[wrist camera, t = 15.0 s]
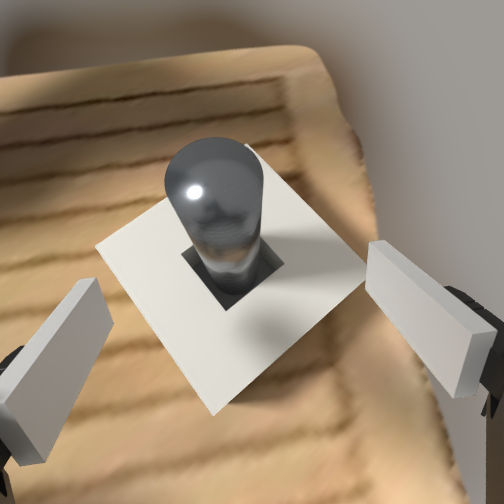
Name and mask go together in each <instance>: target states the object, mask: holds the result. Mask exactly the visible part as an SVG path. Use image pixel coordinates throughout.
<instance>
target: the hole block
mask: <svg viewBox="0 0 504 504" xmlns="http://www.w3.org/2000/svg"><path fill="white" fill-rule="evenodd" d="M245 146H246V147H248V148H249V149H250V150H251V151H252V152H253V153H254V154H255V155H256V156H257V158H258V160H259V161H260V164H261V166H262V169H263V175H264V184H263V200H262V215H261V231H260V247H259V263H258V276H257V280H256V283H255V285H254V286H253V287H252V288H251V289H250V290H249V291H248V292H246V293H244V294H242V295H236V296H235V295H228V294H225V293H223V292H222V291H220V290H219V289H218V288H217V286H216V285H215V283H214V281H213V280H212V278H211V276H210V274H209V272H208V270H207V269H206V267H205V265H204V263H203V261H202V259H201V258H200V256H199V254H198V252H197V250H196V248H195V247H194V245H193V243H192V241H191V239H190V237H189V236H188V234H187V232H186V230H185V228H184V226H183V225H182V223H181V221H180V219H179V217H178V215H177V214H176V212H175V210H174V208H173V206H172V205H171V203H170V201H169V199H168V197H166V198H165V199H164V200H162V201H161V202H159V203H158V204H156V205H155V206H153V207H152V208H150V209H149V210H147V211H146V212H144V213H143V214H141V215H140V216H138V217H137V218H136V219H134V220H133V221H131V222H130V223H128V224H127V225H125V226H124V227H122V228H121V229H119V230H118V231H116V232H115V233H113V234H112V235H110V236H109V237H108V238H106V239H105V240H103V241H102V242H100V243H99V244H97V245H96V246H95V247H96V249H97V250H98V252H99V253H100V254H101V256H102V257H103V259H104V260H105V262H106V263H107V264H108V266H109V267H110V269H111V270H112V272H113V273H114V275H115V276H116V277H117V279H118V280H119V282H120V283H121V285H122V286H123V287H124V289H125V290H126V292H127V293H128V295H129V296H130V298H131V299H132V300H133V302H134V303H135V305H136V306H137V308H138V309H139V310H140V312H141V313H142V315H143V316H144V318H145V319H146V321H147V322H148V323H149V325H150V326H151V328H152V329H153V331H154V332H155V333H156V335H157V336H158V338H159V339H160V341H161V342H162V344H163V345H164V346H165V348H166V349H167V351H168V352H169V354H170V355H171V356H172V358H173V359H174V361H175V362H176V364H177V365H178V367H179V368H180V369H181V371H182V372H183V374H184V375H185V377H186V378H187V379H188V381H189V382H190V384H191V385H192V387H193V388H194V390H195V391H196V392H197V394H198V395H199V397H200V398H201V400H202V401H203V402H204V404H205V405H206V407H207V408H208V410H209V411H210V413H211V414H212V415H213V416H214V415H215V414H216V413H217V412H218V411H220V410H221V409H222V408H223V407H224V406H225V405H226V404H227V403H228V402H230V401H231V400H232V399H233V398H234V397H235V396H236V395H237V394H238V393H240V392H241V391H242V390H243V389H244V388H245V387H246V386H247V385H249V384H250V383H251V382H252V381H253V380H254V379H255V378H256V377H257V376H259V375H260V374H261V373H262V372H263V371H264V370H265V369H266V368H267V367H269V366H270V365H271V364H272V363H273V362H274V361H275V360H276V359H277V358H279V357H280V356H281V355H282V354H283V353H284V352H285V351H286V350H288V349H289V348H290V347H291V346H292V345H293V344H294V343H295V342H296V341H298V340H299V339H300V338H301V337H302V336H303V335H304V334H305V333H306V332H308V331H309V330H310V329H311V328H312V327H313V326H314V325H315V324H316V323H318V322H319V321H320V320H321V319H322V318H323V317H324V316H325V315H327V314H328V313H329V312H330V311H331V310H332V309H333V308H334V307H335V306H337V305H338V304H339V303H340V302H341V301H342V300H343V299H344V298H345V297H347V296H348V295H349V294H350V293H351V292H352V291H353V290H354V289H356V288H357V287H358V286H359V285H360V284H361V283H362V282H363V281H364V280H366V271H367V264H366V263H365V262H364V261H363V260H362V259H361V258H360V257H359V256H358V255H357V254H356V253H355V252H354V251H353V250H352V249H351V248H350V247H349V246H348V245H347V244H346V243H345V242H344V241H343V240H342V239H341V238H340V237H339V236H338V235H337V234H336V233H335V232H334V231H333V230H332V229H331V228H330V227H329V226H328V225H327V224H326V223H325V222H324V221H323V220H322V219H321V218H320V217H319V216H318V215H317V214H316V213H315V212H314V211H313V210H312V208H311V207H310V206H309V205H308V204H307V203H306V202H305V201H304V200H303V199H302V198H301V197H300V196H299V195H298V194H297V193H296V192H295V191H294V190H293V189H292V188H291V187H290V186H289V185H288V184H287V183H286V182H285V181H284V180H283V179H282V178H281V177H280V176H279V175H278V174H277V173H276V172H275V171H274V170H273V169H272V168H271V167H270V166H269V165H268V164H267V163H266V162H265V161H264V160H263V159H262V158H261V157H260V156H259V155H258V154H257V153H256V152H255V151H254V150H253V149H252V148H251V147H250V146H249V145H248V144H247V143H246V144H245Z"/></svg>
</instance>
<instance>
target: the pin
mask: <svg viewBox="0 0 504 504" xmlns="http://www.w3.org/2000/svg"><path fill="white" fill-rule="evenodd" d="M263 184H264V175H263V169H262V166H261V164H260V161H259V160H258V158H257V156H256V155H255V154H254V153H253V152H252V151H251V150H250V149H249V148H248V147H246V146H245V145H243V144H241V143H239V142H237V141H235V140H232V139H228V138H221V137H212V138H205V139H201V140H197V141H195V142H193V143H190V144H189V145H187V146H185V147H184V148H182V149H181V150H180V151H179V152H178V153H177V154H176V155H175V156H174V157H173V158H172V160H171V162H170V163H169V165H168V167H167V170H166V174H165V191H166V194H167V197H168V199H169V201H170V203H171V205H172V206H173V208H174V210H175V212H176V214H177V215H178V217H179V219H180V221H181V223H182V225H183V226H184V228H185V230H186V232H187V234H188V236H189V237H190V239H191V241H192V243H193V245H194V247H195V248H196V250H197V252H198V254H199V256H200V258H201V259H202V261H203V263H204V265H205V267H206V269H207V270H208V272H209V274H210V276H211V278H212V280H213V281H214V283H215V285H216V286H217V288H218V289H219V290H220V291H222V292H223V293H225V294H228V295H235V296H236V295H242V294H244V293H246V292H248V291H249V290H250V289H251V288H252V287H253V286H254V285H255V283H256V280H257V276H258V263H259V247H260V231H261V215H262V200H263Z"/></svg>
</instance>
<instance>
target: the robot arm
mask: <svg viewBox="0 0 504 504" xmlns="http://www.w3.org/2000/svg"><path fill="white" fill-rule="evenodd" d="M365 290H366V291H367V292H368V294H369V295H370V296H371V297H372V299H373V300H374V301H375V302H376V304H377V305H378V306H379V307H380V309H381V310H382V311H383V312H384V314H385V315H386V316H387V317H388V319H389V320H390V321H391V322H392V323H393V325H394V326H395V327H396V328H397V330H398V331H399V332H400V333H401V335H402V336H403V337H404V338H405V340H406V341H407V342H408V343H409V345H410V346H411V347H412V348H413V350H414V351H415V352H416V353H417V355H418V356H419V357H420V358H421V360H422V361H423V362H424V363H425V365H426V366H427V367H428V368H429V370H430V371H431V372H432V373H433V374H434V376H435V377H436V378H437V380H438V381H439V382H440V383H441V384H442V386H443V387H444V388H445V389H446V391H447V392H448V393H449V394H450V396H451V397H452V398H453V399H455V398H462V397H468V396H475V395H476V392H477V388H478V386H479V383H481V384H482V385H483V386H484V387H485V388H486V389H487V390H488V391H489V394H488V397H487V400H486V402H485V405H484V408H483V410H482V413H481V415H482V416H485V415H486V419H487V420H486V504H504V322H502V321H501V320H500V319H499V318H497V317H496V316H495V315H493V314H492V313H491V312H489V311H488V310H486V309H484V307H483V306H481V305H480V304H479V303H477V302H475V300H473V299H472V298H471V297H469V296H468V295H467V294H465V293H464V292H462V291H460V290H457V289H455V288H453V287H451V286H445V287H443V286H441V285H440V284H439V283H437V282H436V281H435V280H434V279H432V278H431V277H430V276H429V275H427V274H426V273H425V272H424V271H423V270H421V269H420V268H419V267H417V266H416V265H415V264H414V263H413V262H411V261H410V260H409V259H408V258H406V257H405V256H404V255H402V254H401V253H400V252H399V251H398V250H396V249H395V248H394V247H393V246H391V245H390V244H389V243H387V242H386V241H385V240H380V241H372V242H369V248H368V259H367V271H366V283H365ZM113 324H114V322H113V320H112V317H111V314H110V312H109V309H108V307H107V304H106V301H105V299H104V296H103V293H102V291H101V288H100V286H99V283H98V280H97V278H96V277H94V278H86V279H80V280H79V281H78V282H77V283H76V284H75V286H74V287H73V288H72V289H71V291H70V292H69V293H68V294H67V295H66V297H65V298H64V299H63V300H62V301H61V303H60V304H59V305H58V306H57V308H56V309H55V310H54V311H53V312H52V314H51V315H50V316H49V317H48V318H47V320H46V321H45V322H44V323H43V325H42V326H41V327H40V328H39V329H38V331H37V332H36V333H35V334H34V336H33V337H32V338H31V339H30V340H29V342H28V343H27V344H26V345H24V346H20V347H18V348H17V349H16V350H14V351H13V352H12V353H11V354H9V355H8V356H7V357H5V359H4V360H3V361H2V362H1V363H0V504H15V501H14V496H13V492H12V488H11V484H10V480H9V476H8V474H7V472H6V471H5V470H4V466H5V464H6V463H7V461H8V460H9V458H10V456H11V455H12V457H13V458H14V459H15V461H16V462H17V463H18V465H19V466H26V465H32V464H39V463H45V462H46V460H47V458H48V456H49V454H50V452H51V450H52V448H53V446H54V444H55V442H56V440H57V438H58V436H59V434H60V432H61V430H62V428H63V426H64V424H65V422H66V420H67V418H68V415H69V413H70V411H71V409H72V407H73V405H74V403H75V401H76V399H77V397H78V395H79V393H80V391H81V389H82V387H83V385H84V383H85V381H86V379H87V377H88V375H89V373H90V371H91V369H92V367H93V365H94V363H95V361H96V359H97V357H98V355H99V353H100V351H101V349H102V347H103V345H104V343H105V341H106V339H107V337H108V335H109V332H110V330H111V328H112V326H113Z"/></svg>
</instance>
